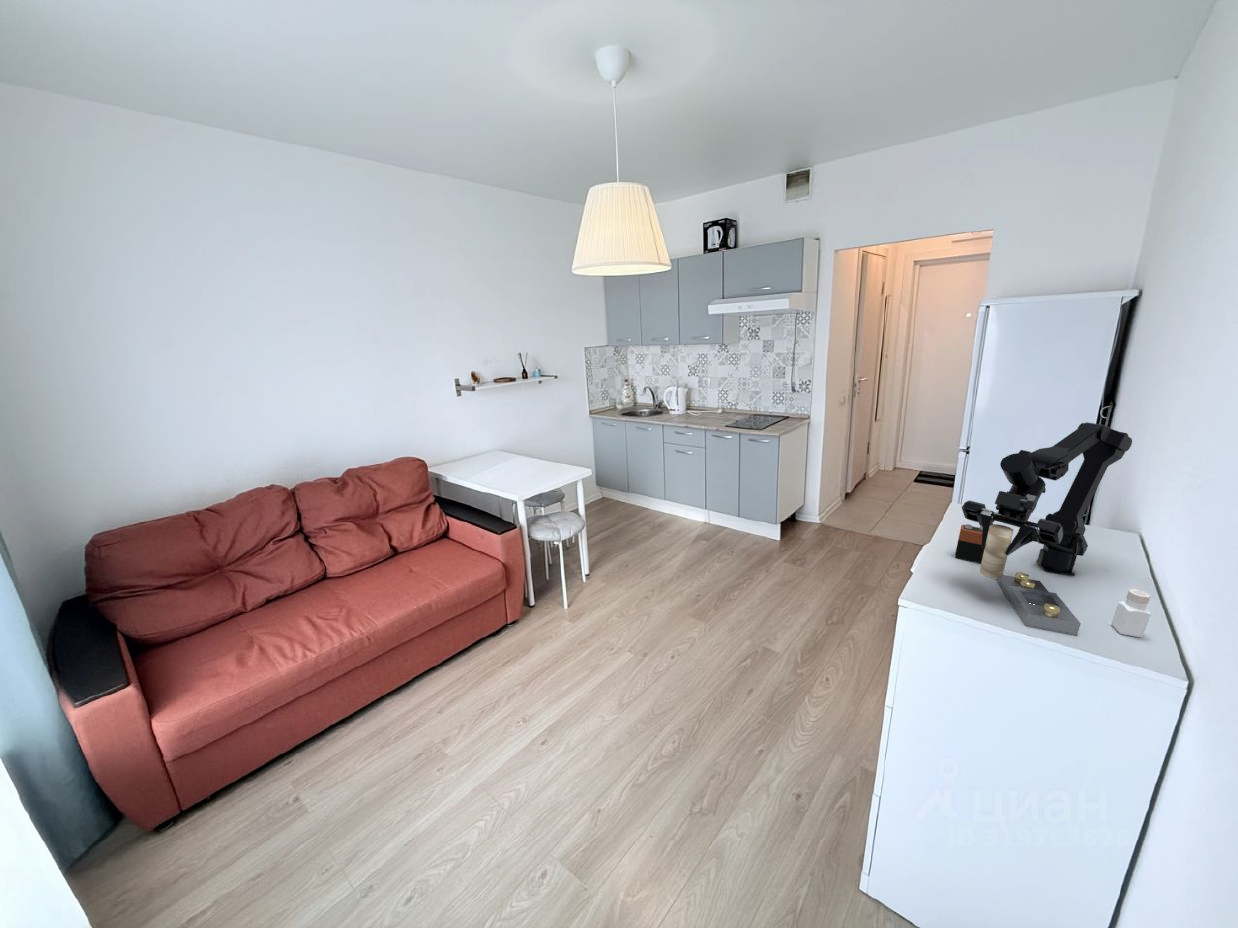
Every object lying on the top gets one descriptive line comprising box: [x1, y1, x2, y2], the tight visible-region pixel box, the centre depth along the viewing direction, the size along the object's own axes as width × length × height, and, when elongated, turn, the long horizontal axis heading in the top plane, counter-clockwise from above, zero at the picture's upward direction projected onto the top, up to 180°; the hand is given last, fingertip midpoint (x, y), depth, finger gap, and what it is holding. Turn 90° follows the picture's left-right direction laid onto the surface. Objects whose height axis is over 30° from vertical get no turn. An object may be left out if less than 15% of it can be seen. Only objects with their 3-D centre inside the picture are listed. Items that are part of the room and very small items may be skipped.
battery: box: [955, 523, 985, 565], centre depth 136 cm, size 4×7×10 cm, turn 54°
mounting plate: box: [995, 571, 1081, 636], centre depth 114 cm, size 9×22×5 cm, turn 157°
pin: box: [979, 523, 1014, 580], centre depth 113 cm, size 4×4×12 cm
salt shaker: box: [1111, 588, 1152, 638], centre depth 103 cm, size 4×4×10 cm
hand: (994, 550), depth 113 cm, fingers closed on pin, 4 cm apart
